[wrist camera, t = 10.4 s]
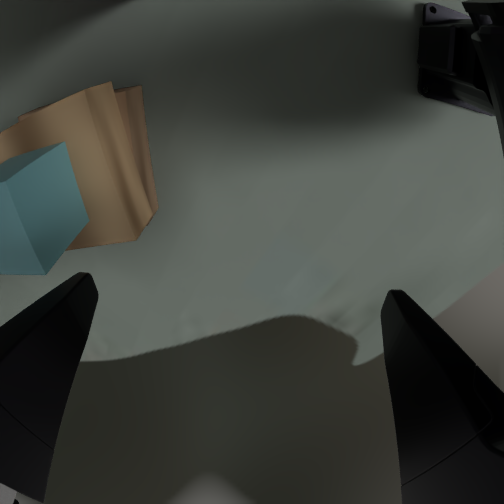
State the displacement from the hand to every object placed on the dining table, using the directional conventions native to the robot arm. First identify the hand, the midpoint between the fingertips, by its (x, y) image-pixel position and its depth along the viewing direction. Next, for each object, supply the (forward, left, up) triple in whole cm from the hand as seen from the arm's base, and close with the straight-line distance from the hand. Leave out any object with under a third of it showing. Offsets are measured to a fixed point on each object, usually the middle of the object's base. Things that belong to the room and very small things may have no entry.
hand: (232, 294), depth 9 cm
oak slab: (+12, 0, -11) cm, 16 cm away
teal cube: (+12, 0, -8) cm, 14 cm away
